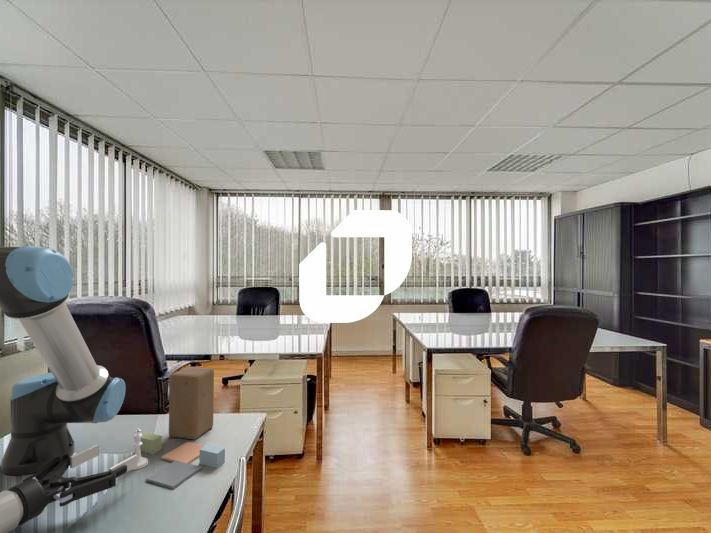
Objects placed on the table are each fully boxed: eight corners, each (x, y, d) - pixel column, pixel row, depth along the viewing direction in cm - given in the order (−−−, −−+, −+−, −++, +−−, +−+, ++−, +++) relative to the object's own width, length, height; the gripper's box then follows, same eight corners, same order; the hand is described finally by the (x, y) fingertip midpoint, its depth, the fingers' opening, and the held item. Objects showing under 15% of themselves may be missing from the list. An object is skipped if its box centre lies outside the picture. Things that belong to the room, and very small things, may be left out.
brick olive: (137, 450, 104) (137, 436, 104) (146, 445, 107) (146, 432, 107) (152, 454, 102) (152, 440, 102) (161, 449, 105) (161, 435, 105)
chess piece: (145, 468, 95) (145, 431, 95) (124, 471, 93) (124, 433, 93) (150, 458, 100) (150, 423, 100) (130, 461, 98) (130, 425, 98)
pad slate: (146, 480, 89) (146, 478, 89) (175, 462, 98) (175, 460, 98) (173, 489, 86) (173, 486, 86) (201, 469, 95) (201, 467, 95)
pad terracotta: (161, 458, 100) (161, 456, 100) (186, 443, 108) (186, 441, 108) (186, 465, 97) (186, 463, 97) (210, 449, 105) (210, 447, 105)
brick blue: (199, 464, 98) (199, 449, 98) (207, 458, 100) (207, 444, 100) (217, 468, 96) (217, 453, 96) (224, 462, 98) (224, 448, 98)
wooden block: (195, 441, 110) (196, 376, 110) (167, 437, 112) (168, 374, 112) (214, 426, 120) (215, 367, 120) (188, 423, 122) (189, 365, 122)
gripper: (-24, 511, 75) (83, 459, 95) (52, 544, 66) (152, 480, 86) (-24, 475, 75) (83, 431, 95) (53, 504, 66) (153, 449, 86)
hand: (116, 454), depth 91 cm, fingers open, 13 cm apart
